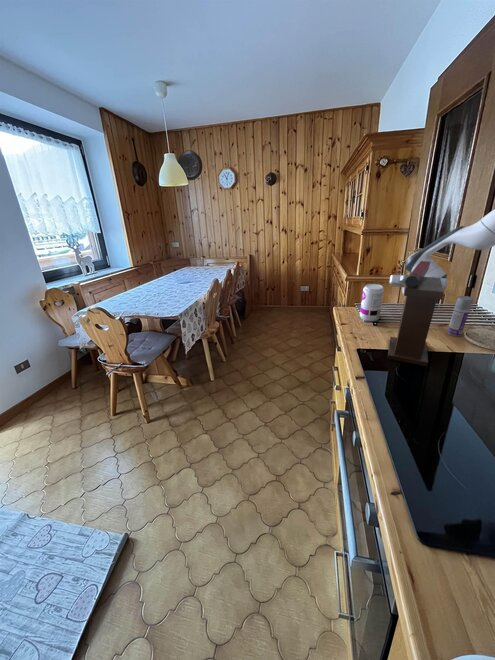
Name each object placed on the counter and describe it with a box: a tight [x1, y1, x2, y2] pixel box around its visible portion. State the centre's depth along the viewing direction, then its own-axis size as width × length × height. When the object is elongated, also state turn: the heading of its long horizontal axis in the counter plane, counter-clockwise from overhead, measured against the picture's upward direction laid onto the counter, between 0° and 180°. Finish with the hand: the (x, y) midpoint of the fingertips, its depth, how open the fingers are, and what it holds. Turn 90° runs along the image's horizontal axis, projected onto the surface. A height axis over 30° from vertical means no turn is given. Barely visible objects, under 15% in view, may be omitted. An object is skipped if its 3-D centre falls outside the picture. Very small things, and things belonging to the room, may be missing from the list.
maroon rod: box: [405, 261, 430, 288], centre depth 93 cm, size 22×4×4 cm, turn 141°
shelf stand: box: [386, 275, 445, 367], centre depth 96 cm, size 14×12×26 cm
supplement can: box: [359, 283, 385, 323], centre depth 124 cm, size 8×8×15 cm
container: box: [446, 295, 474, 337], centre depth 108 cm, size 5×5×15 cm
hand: (419, 277), depth 109 cm, fingers open, 8 cm apart
